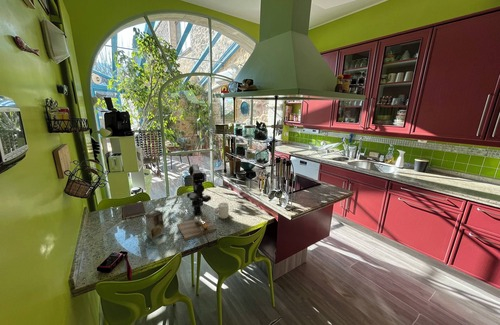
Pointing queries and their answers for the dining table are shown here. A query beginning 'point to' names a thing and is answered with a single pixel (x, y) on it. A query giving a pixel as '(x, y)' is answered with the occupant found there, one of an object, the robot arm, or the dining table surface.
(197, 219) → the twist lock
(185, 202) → the dining table surface
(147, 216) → the coffee box
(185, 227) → the lock base
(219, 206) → the mug
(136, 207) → the hardcover book
